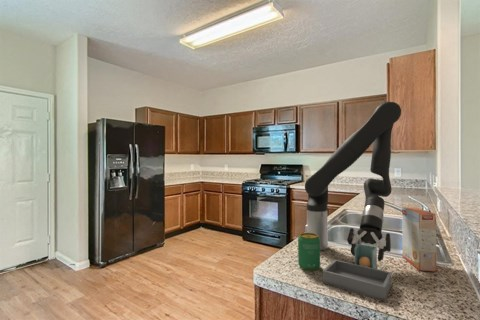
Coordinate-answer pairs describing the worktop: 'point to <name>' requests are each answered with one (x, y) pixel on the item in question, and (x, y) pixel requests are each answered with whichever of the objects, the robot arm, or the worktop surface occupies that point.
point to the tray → (358, 279)
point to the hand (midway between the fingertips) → (365, 257)
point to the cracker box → (419, 238)
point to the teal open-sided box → (366, 254)
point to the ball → (365, 262)
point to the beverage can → (309, 251)
